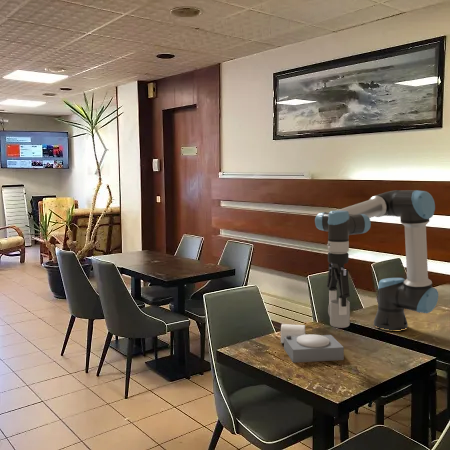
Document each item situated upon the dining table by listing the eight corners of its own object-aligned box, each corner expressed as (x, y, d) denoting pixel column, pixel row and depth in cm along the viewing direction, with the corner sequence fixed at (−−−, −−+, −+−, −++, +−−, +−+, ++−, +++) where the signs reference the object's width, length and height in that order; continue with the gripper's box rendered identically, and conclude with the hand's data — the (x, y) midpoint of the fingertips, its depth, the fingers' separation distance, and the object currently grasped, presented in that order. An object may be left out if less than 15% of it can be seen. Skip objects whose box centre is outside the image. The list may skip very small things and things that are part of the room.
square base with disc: (330, 346, 203) (331, 332, 203) (343, 359, 188) (343, 344, 188) (284, 348, 201) (284, 334, 201) (293, 362, 186) (293, 347, 186)
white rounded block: (304, 347, 203) (304, 328, 202) (280, 345, 205) (280, 327, 204) (305, 337, 215) (305, 320, 214) (282, 336, 217) (282, 319, 216)
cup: (338, 329, 178) (338, 305, 177) (321, 322, 187) (321, 299, 186) (353, 326, 181) (353, 302, 180) (336, 319, 190) (336, 297, 189)
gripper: (318, 248, 192) (318, 303, 194) (339, 257, 170) (338, 319, 172) (337, 247, 193) (336, 302, 195) (359, 256, 171) (359, 318, 173)
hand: (337, 310), depth 183 cm, fingers closed on cup, 10 cm apart
